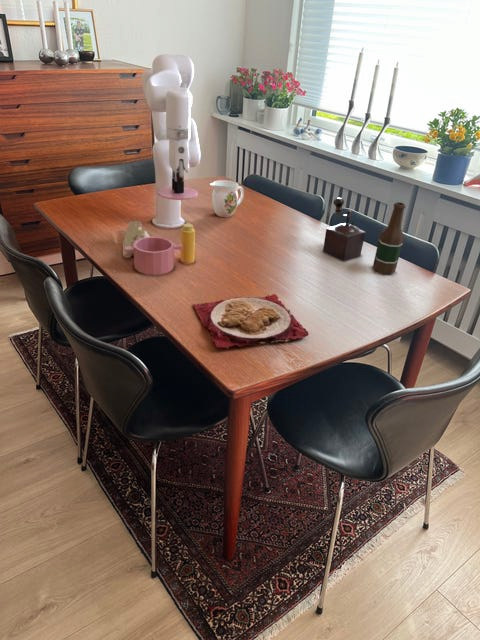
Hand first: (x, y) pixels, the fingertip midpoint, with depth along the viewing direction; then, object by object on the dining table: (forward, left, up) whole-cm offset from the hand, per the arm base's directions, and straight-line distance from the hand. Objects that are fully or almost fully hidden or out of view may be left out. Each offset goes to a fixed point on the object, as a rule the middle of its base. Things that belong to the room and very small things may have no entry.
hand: (177, 191), depth 164 cm
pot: (+14, -10, -21) cm, 27 cm away
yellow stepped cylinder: (+12, +1, -21) cm, 24 cm away
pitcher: (-32, +27, -21) cm, 47 cm away
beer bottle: (+29, +67, -21) cm, 76 cm away
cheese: (0, -15, -21) cm, 26 cm away
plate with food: (+52, +10, -21) cm, 57 cm away
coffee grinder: (+11, +58, -21) cm, 63 cm away
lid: (0, 0, -1) cm, 1 cm away
